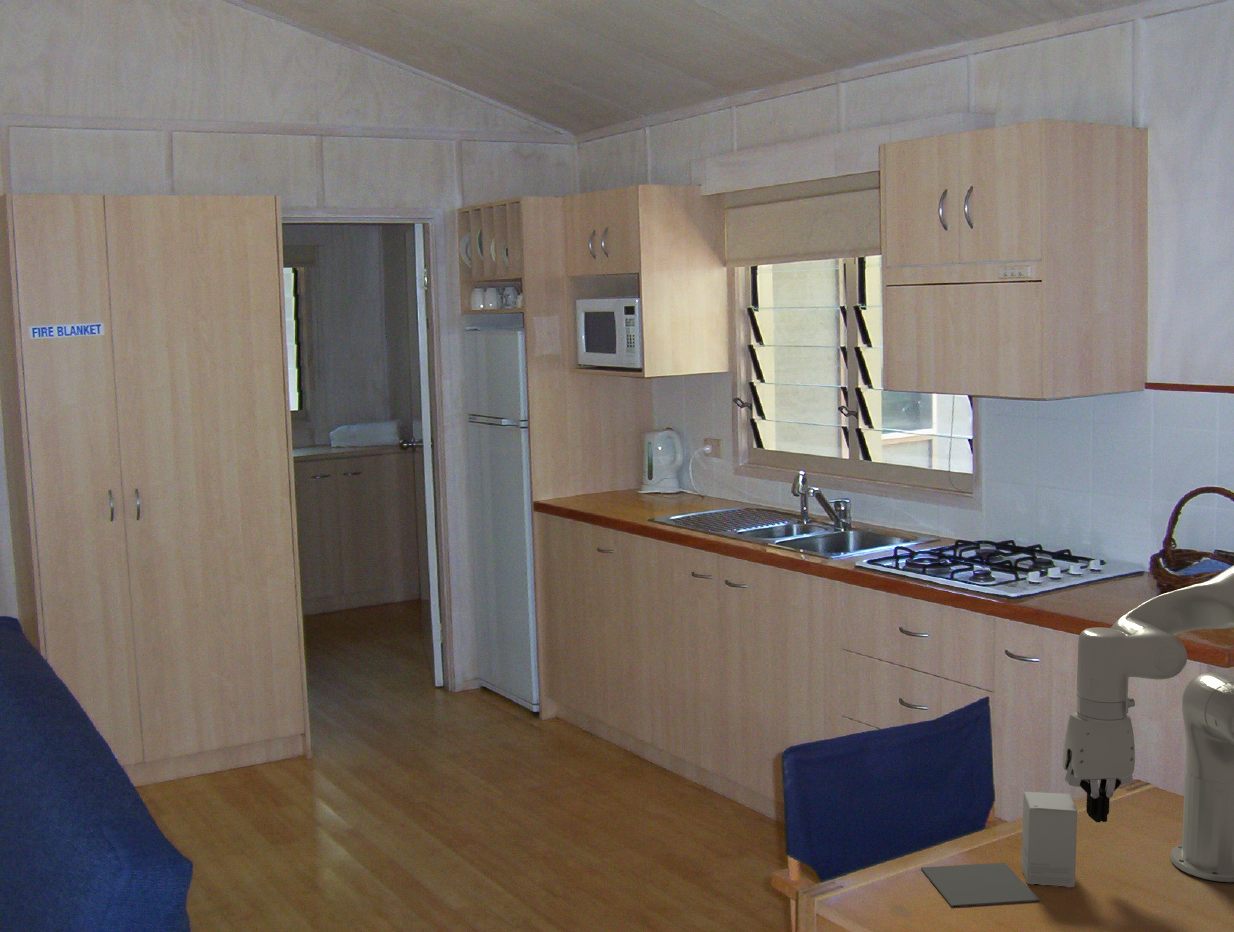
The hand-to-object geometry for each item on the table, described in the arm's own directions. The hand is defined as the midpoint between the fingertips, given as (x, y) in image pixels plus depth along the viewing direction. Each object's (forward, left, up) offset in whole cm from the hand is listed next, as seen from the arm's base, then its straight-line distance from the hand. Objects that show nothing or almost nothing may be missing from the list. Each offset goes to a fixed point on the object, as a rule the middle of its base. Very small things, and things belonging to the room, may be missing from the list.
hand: (1097, 818), depth 196 cm
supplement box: (+8, 0, -9) cm, 12 cm away
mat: (+20, +2, -9) cm, 22 cm away
